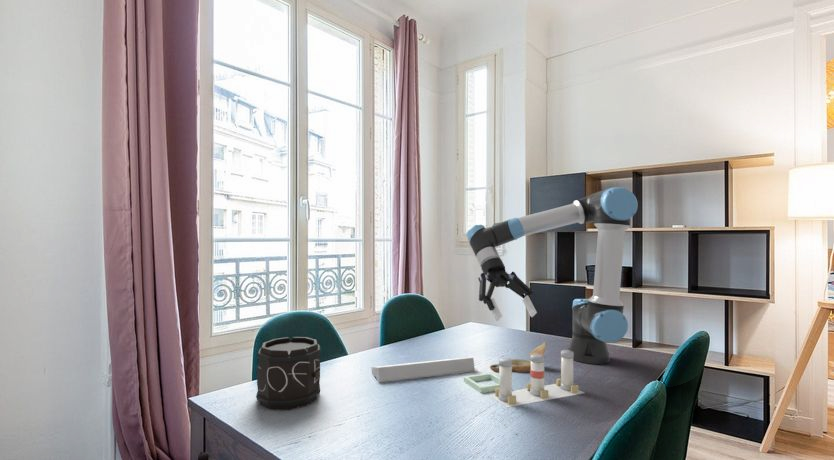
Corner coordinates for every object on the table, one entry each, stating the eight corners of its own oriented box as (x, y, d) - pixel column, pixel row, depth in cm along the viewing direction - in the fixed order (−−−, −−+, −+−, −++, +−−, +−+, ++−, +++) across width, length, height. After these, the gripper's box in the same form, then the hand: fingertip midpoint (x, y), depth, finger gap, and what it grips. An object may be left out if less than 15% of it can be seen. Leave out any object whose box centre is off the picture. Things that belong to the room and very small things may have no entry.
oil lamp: (552, 374, 138) (552, 345, 138) (495, 379, 132) (495, 349, 132) (538, 366, 146) (539, 339, 146) (484, 371, 141) (484, 342, 141)
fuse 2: (567, 385, 123) (567, 349, 123) (576, 390, 120) (576, 352, 120) (558, 387, 121) (558, 350, 122) (566, 391, 118) (566, 353, 118)
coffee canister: (296, 417, 103) (297, 355, 104) (241, 406, 110) (242, 348, 110) (334, 392, 120) (335, 339, 121) (284, 383, 126) (285, 333, 127)
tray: (490, 382, 130) (490, 372, 130) (509, 393, 120) (509, 383, 120) (463, 386, 126) (463, 376, 126) (480, 398, 116) (480, 387, 117)
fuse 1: (507, 396, 114) (507, 357, 115) (514, 400, 111) (514, 360, 111) (496, 397, 113) (496, 358, 113) (503, 402, 110) (503, 362, 110)
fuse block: (562, 387, 126) (562, 376, 126) (585, 398, 117) (585, 386, 117) (488, 400, 115) (488, 387, 115) (507, 412, 107) (507, 399, 107)
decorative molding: (372, 381, 137) (379, 383, 128) (371, 367, 138) (378, 367, 129) (462, 371, 149) (474, 372, 140) (460, 357, 150) (473, 357, 141)
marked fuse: (538, 390, 119) (538, 353, 119) (547, 395, 115) (547, 356, 115) (527, 392, 117) (527, 354, 118) (536, 397, 114) (536, 358, 114)
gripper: (514, 268, 147) (541, 319, 134) (455, 271, 137) (478, 326, 124) (524, 255, 142) (553, 307, 129) (464, 257, 132) (488, 313, 119)
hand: (516, 316), depth 127 cm, fingers open, 13 cm apart
